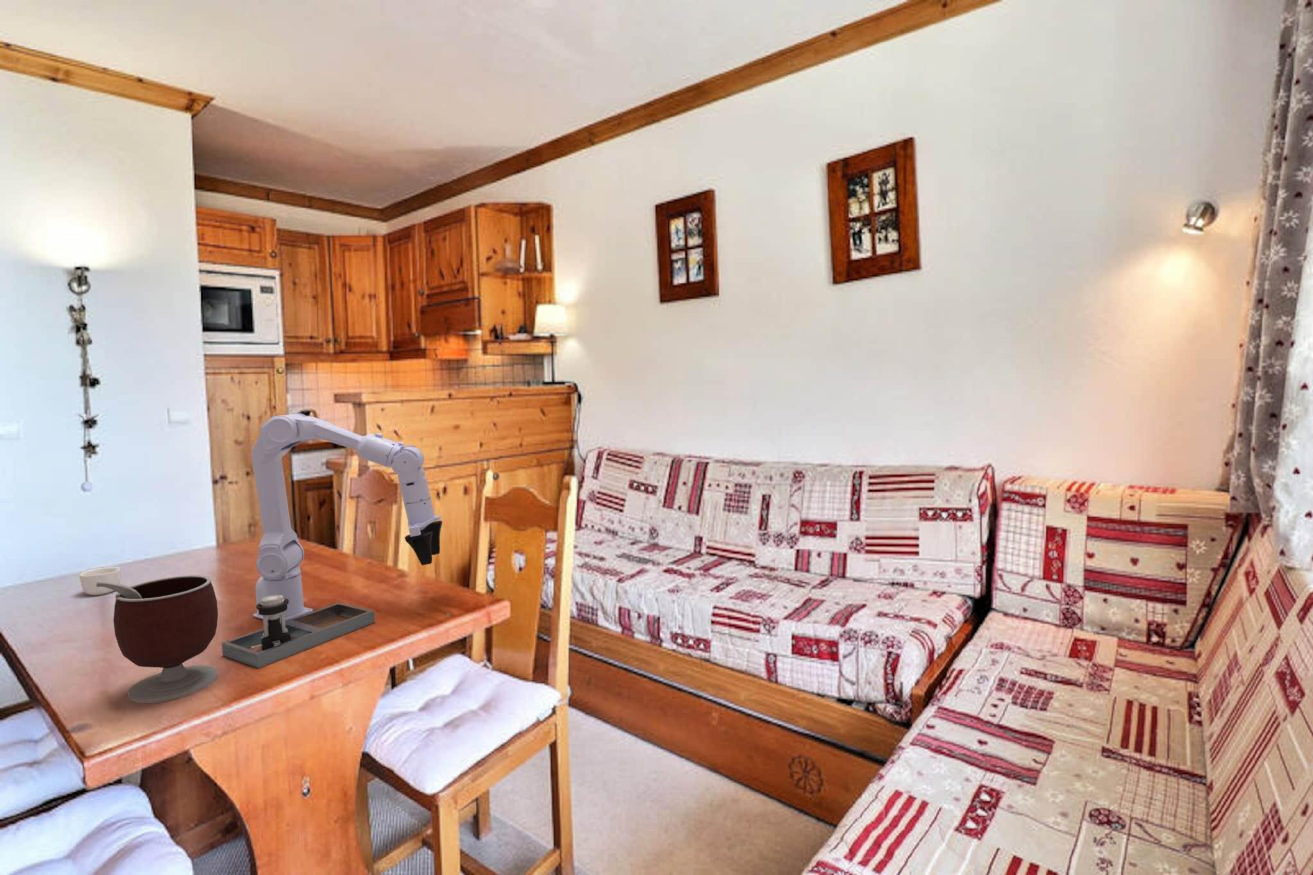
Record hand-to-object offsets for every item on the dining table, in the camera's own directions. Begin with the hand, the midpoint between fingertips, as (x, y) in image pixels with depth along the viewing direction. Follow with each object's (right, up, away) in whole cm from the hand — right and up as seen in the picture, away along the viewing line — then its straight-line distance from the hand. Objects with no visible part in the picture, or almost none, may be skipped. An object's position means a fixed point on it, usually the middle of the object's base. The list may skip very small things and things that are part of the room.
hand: (431, 559), depth 146 cm
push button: (-23, -13, -22) cm, 34 cm away
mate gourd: (-32, -15, -36) cm, 50 cm away
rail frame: (-20, -13, -16) cm, 29 cm away
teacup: (-87, -11, +16) cm, 90 cm away
